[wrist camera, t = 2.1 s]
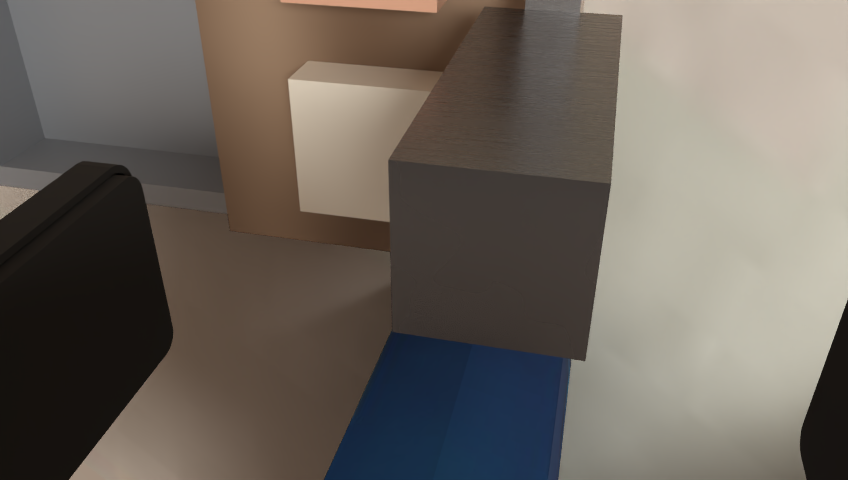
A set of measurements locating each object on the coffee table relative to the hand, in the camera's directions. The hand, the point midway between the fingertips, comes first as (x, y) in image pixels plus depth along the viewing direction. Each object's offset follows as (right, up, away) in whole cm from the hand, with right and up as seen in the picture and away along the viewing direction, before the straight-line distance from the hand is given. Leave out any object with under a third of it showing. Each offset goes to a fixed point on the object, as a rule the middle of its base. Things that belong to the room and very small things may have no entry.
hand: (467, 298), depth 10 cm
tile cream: (-2, +4, +12) cm, 13 cm away
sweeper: (+3, +6, +9) cm, 11 cm away
